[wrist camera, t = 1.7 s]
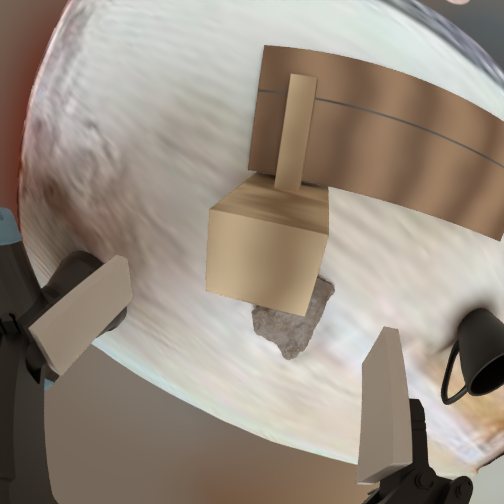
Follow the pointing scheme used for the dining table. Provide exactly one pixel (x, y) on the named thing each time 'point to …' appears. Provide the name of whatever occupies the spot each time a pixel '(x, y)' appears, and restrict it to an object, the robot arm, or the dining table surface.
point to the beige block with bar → (273, 223)
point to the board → (386, 138)
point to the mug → (477, 355)
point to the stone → (292, 322)
